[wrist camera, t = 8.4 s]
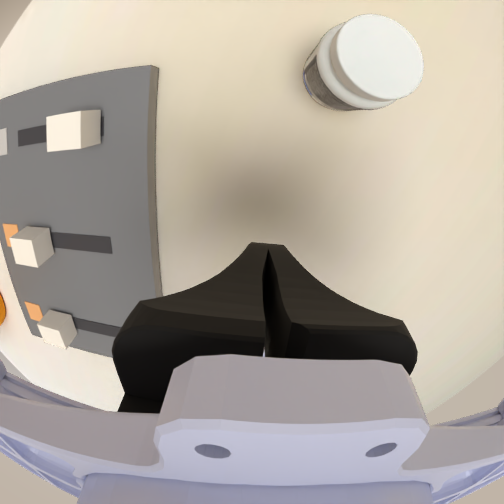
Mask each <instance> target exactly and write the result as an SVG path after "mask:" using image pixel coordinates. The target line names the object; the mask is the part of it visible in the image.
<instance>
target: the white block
mask: <svg viewBox="0 0 504 504" xmlns="http://www.w3.org/2000/svg"><path fill="white" fill-rule="evenodd" d="M37 326H38V328H39V331H40V333H41V335H42V338H43V340H44V342H45V343H47V344H50V345H53V346H57V347H60V348H63V349H67V348H68V346H69V345H70V343H71V342H72V341H73V339H74V338H75V336H76V335H77V331H76V328H75V325H74V322H73V319H72V316H71V315H69V314H65V313H61V312H57V311H53V310H49V311H48V312H47V313H46V314H45V315H44V316H43V318H42V319H41V320H40V321H39V322H38V324H37Z"/></svg>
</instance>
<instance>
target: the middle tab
mask: <svg viewBox="0 0 504 504" xmlns="http://www.w3.org/2000/svg"><path fill="white" fill-rule="evenodd" d="M10 243H11V247H12V251H13V255H14V258H15V262H16V264H21V265H26V266H32V267H37V268H38V267H39V266H40V265H42V264H43V263H44V262H45V261H46V260H47V259H49V258H50V257H51V256H52V255H53V254H54V250H53V246H52V241H51V236H50V230H49V228H43V227H29V226H27V227H25V228H23V229H22V230H20V231H19V232H17V233H16V234H14V235H13V236H11V237H10Z"/></svg>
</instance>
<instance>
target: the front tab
mask: <svg viewBox="0 0 504 504" xmlns="http://www.w3.org/2000/svg"><path fill="white" fill-rule="evenodd" d="M100 122H101V110H85V111H76V112H70V113H64V114H59V115H54V116H48V117H46V129H47V152H52V151H61V150H72V149H82V148H85V147H89V146H93V145H97V144H101V141H100Z"/></svg>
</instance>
